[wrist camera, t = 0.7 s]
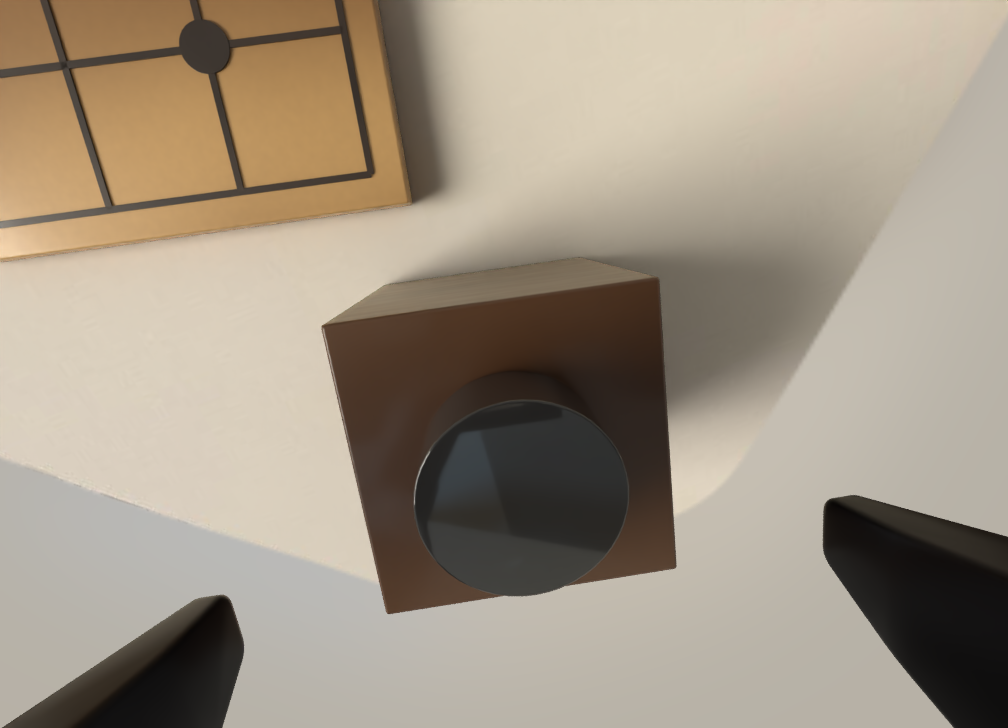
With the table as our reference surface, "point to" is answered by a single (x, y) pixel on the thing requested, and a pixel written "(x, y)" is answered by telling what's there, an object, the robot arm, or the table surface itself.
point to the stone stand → (492, 349)
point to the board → (190, 119)
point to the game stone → (518, 486)
